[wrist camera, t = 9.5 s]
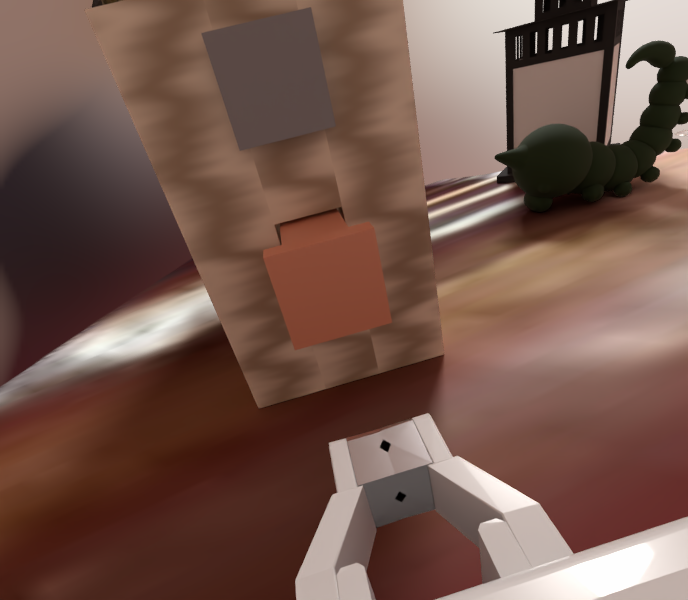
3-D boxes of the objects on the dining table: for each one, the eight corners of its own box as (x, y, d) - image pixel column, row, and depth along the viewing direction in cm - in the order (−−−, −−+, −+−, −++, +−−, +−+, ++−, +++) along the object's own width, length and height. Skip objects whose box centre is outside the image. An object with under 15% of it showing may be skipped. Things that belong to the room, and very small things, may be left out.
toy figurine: (632, 185, 60) (477, 210, 59) (664, 40, 52) (482, 66, 50) (687, 198, 52) (508, 228, 51) (736, 28, 43) (520, 59, 42)
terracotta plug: (358, 263, 30) (342, 191, 27) (392, 322, 22) (374, 227, 19) (287, 282, 30) (264, 211, 27) (294, 350, 21) (263, 258, 19)
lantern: (619, 149, 73) (648, -103, 56) (611, 176, 61) (644, -131, 45) (520, 158, 83) (520, -54, 66) (497, 182, 71) (490, -67, 55)
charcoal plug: (317, 120, 30) (298, 35, 28) (335, 126, 22) (311, 7, 19) (247, 138, 30) (220, 54, 27) (239, 150, 22) (201, 33, 19)
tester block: (419, 319, 38) (368, -28, 25) (444, 354, 33) (395, -63, 20) (259, 365, 37) (123, 30, 24) (258, 408, 32) (84, 9, 19)
